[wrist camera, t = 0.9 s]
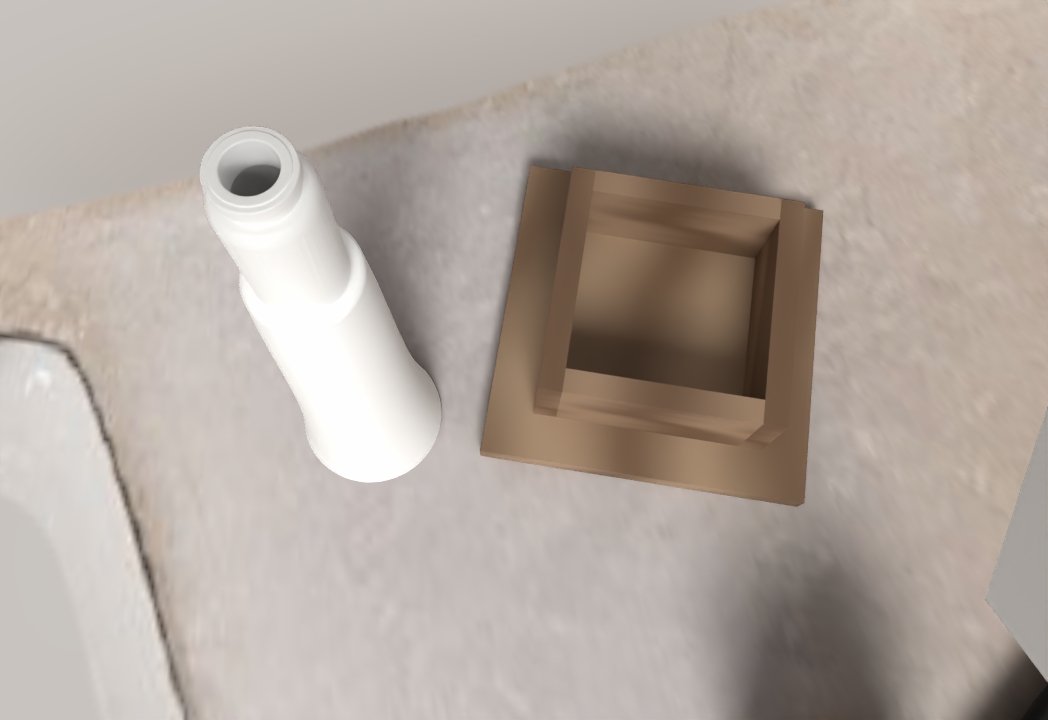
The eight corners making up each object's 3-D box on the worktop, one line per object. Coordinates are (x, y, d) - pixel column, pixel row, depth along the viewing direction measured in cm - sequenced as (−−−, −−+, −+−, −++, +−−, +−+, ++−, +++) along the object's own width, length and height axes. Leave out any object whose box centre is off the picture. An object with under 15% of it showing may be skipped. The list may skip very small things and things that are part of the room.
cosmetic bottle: (349, 510, 40) (190, 346, 19) (280, 396, 42) (62, 131, 21) (467, 434, 42) (437, 204, 21) (396, 327, 43) (301, 9, 22)
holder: (816, 220, 45) (854, 168, 40) (797, 506, 41) (836, 486, 36) (529, 175, 46) (533, 119, 41) (480, 455, 41) (478, 428, 36)
